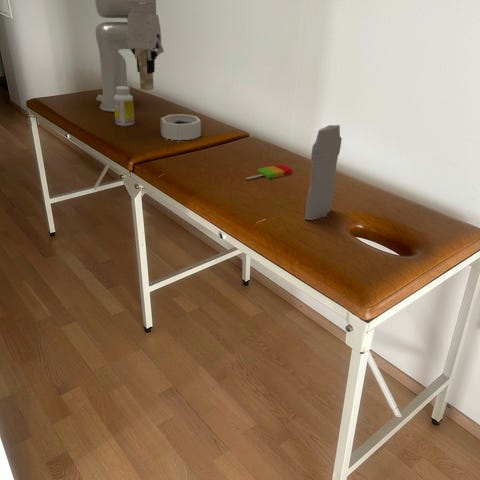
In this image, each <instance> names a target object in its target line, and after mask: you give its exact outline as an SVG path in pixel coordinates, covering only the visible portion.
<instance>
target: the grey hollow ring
mask: <svg viewBox="0 0 480 480" xmlns="http://www.w3.org/2000/svg"><path fill="white" fill-rule="evenodd" d="M178 120H179V121H184V122H190V124H175V123H174V122H176V121H178ZM201 124H202V123H201V119H200V118H199V117H198V116H196V115H191V114H184V113H183V114H181V113H179V114H178V113H177V114H168V115H166V116H163V117H160V135H161V137H162V138H163V137H164V138H166V139H165V140H168V139H171V140H170V141H173V140H178V141H177V142H180V141H179V140H189V139H194V138H197V137H199V136H201V135H202V134H201V132H202V131H201V130H202V129H201V128H202V127H201V126H202V125H201ZM164 138H163V139H164ZM199 138H200V137H199ZM197 139H198V138H197Z"/></svg>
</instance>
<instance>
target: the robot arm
mask: <svg viewBox="0 0 480 480" xmlns="http://www.w3.org/2000/svg"><path fill="white" fill-rule="evenodd" d="M94 1H95V7H96V12H97V14H98V16H99V17H101V18H104V19H126V20H127V21H104V22H101V23H99V24H98V25H97V26H96V28H95V39H96V42H97V47H98V52H99V62H100V73H101V85H102V94H98V95H97V97H96V101H98V102H101V104H99V108H100V110H101V111H104V112H112V113H113V112H114V113H115V108H114V96H115V95H116V94H117V92H116V87H119V86H126V87H128V71H127V70H128V69H127V61H126V60H125V58H124V56H123V55H122V54H121V53H120V50H129V51H130V52H132V54H133V56H134V58H135V59H136V68H137V73H139V71H140V70H139V60H138V49H142V50H147V54H148V60H147V73H148V74H150V73H153V74H154V73H155V64H156V63H155V60H156V59H157V58H158V56H159V55H161V54H163V53H164V52H165V51H164V48H163V45H162V33H161V32H162V31H161V30H162V29H161V26H160V25H161V23H160V19H159V15H158V14H157V0H94ZM151 52H152V53H151Z"/></svg>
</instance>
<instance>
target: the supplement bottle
mask: <svg viewBox="0 0 480 480" xmlns="http://www.w3.org/2000/svg"><path fill="white" fill-rule="evenodd" d="M116 92H117V94H116V95H115V96H114V108H115V112H114V118H115V119H114V120H115V124H116V125H118V126H122V127H129V126H132V125H134V124H135V111H134V98H133V96H132V94H130V87H129V86H127V87H126V86H119V87H116Z"/></svg>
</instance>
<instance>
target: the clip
mask: <svg viewBox="0 0 480 480" xmlns="http://www.w3.org/2000/svg"><path fill="white" fill-rule="evenodd" d="M174 123H175V124H190V122H184V121H179V120H178V121H176V122H174Z"/></svg>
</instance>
